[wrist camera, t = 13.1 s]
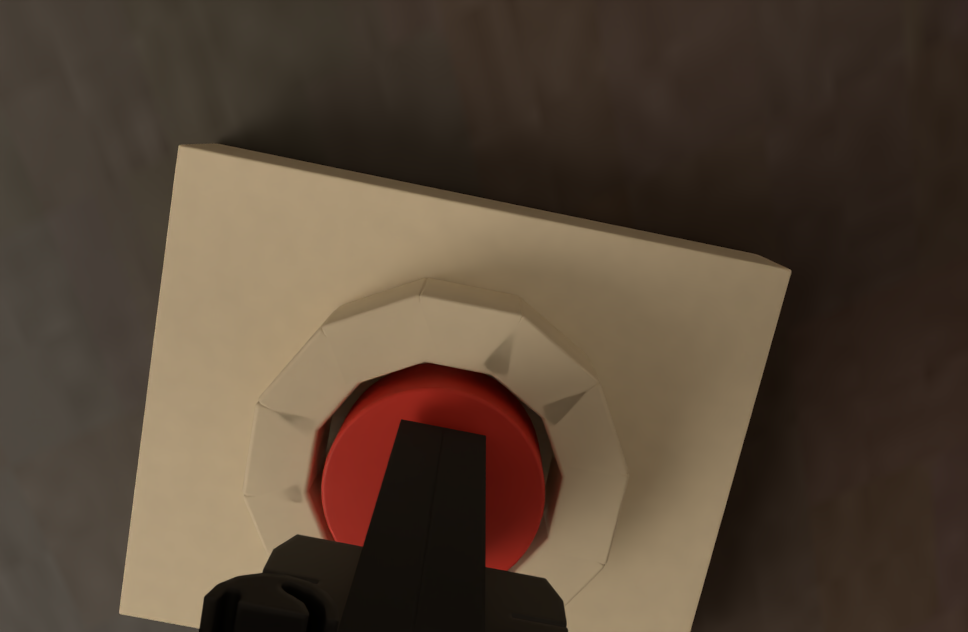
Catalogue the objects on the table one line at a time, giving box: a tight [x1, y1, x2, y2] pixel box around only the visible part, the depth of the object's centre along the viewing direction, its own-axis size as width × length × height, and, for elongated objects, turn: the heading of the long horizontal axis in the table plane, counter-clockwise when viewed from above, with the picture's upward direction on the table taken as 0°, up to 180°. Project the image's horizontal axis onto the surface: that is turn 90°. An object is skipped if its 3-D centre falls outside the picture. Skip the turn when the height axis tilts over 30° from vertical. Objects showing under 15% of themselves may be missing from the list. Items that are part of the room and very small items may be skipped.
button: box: [321, 363, 545, 571], centre depth 16 cm, size 4×4×2 cm
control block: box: [119, 143, 791, 632], centre depth 18 cm, size 12×10×4 cm
